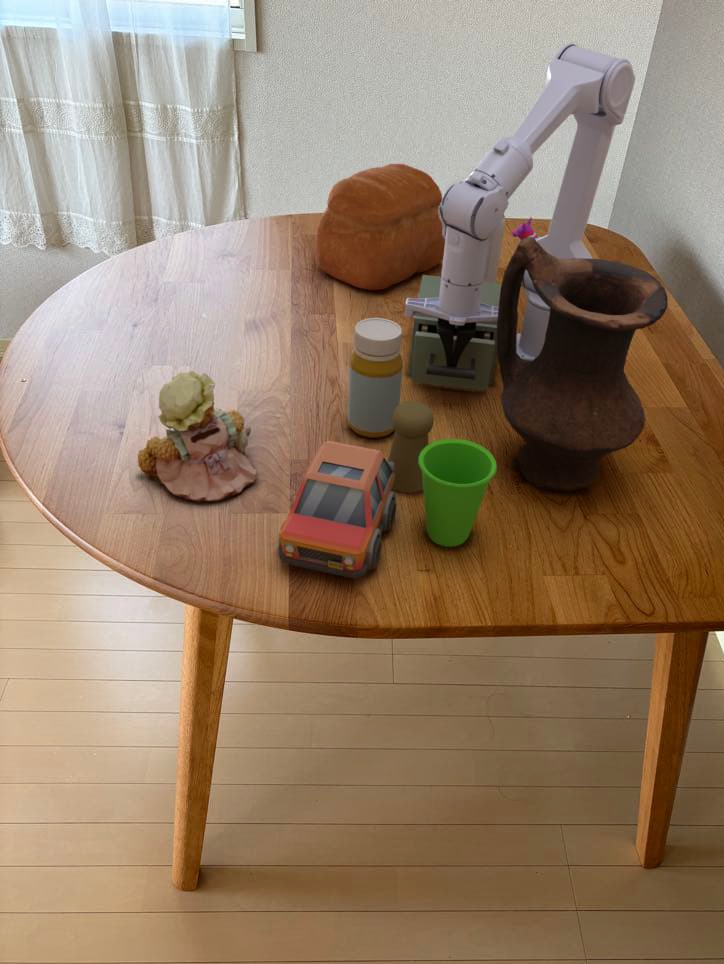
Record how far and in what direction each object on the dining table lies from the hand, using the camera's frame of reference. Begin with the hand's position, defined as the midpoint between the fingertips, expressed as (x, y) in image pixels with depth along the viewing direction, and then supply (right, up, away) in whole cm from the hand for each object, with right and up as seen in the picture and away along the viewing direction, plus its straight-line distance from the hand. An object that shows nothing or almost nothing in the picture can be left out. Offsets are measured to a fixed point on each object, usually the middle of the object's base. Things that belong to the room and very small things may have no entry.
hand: (451, 365), depth 130 cm
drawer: (0, +1, +8) cm, 8 cm away
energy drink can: (+6, +19, +32) cm, 37 cm away
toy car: (-15, -25, -21) cm, 35 cm away
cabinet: (+1, +4, +13) cm, 14 cm away
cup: (-1, -24, -19) cm, 31 cm away
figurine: (-33, -17, -13) cm, 39 cm away
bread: (-11, +25, +36) cm, 45 cm away
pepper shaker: (-6, -17, -11) cm, 21 cm away
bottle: (-11, -9, -3) cm, 15 cm away
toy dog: (+20, +22, +36) cm, 46 cm away
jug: (+13, -15, -6) cm, 21 cm away
